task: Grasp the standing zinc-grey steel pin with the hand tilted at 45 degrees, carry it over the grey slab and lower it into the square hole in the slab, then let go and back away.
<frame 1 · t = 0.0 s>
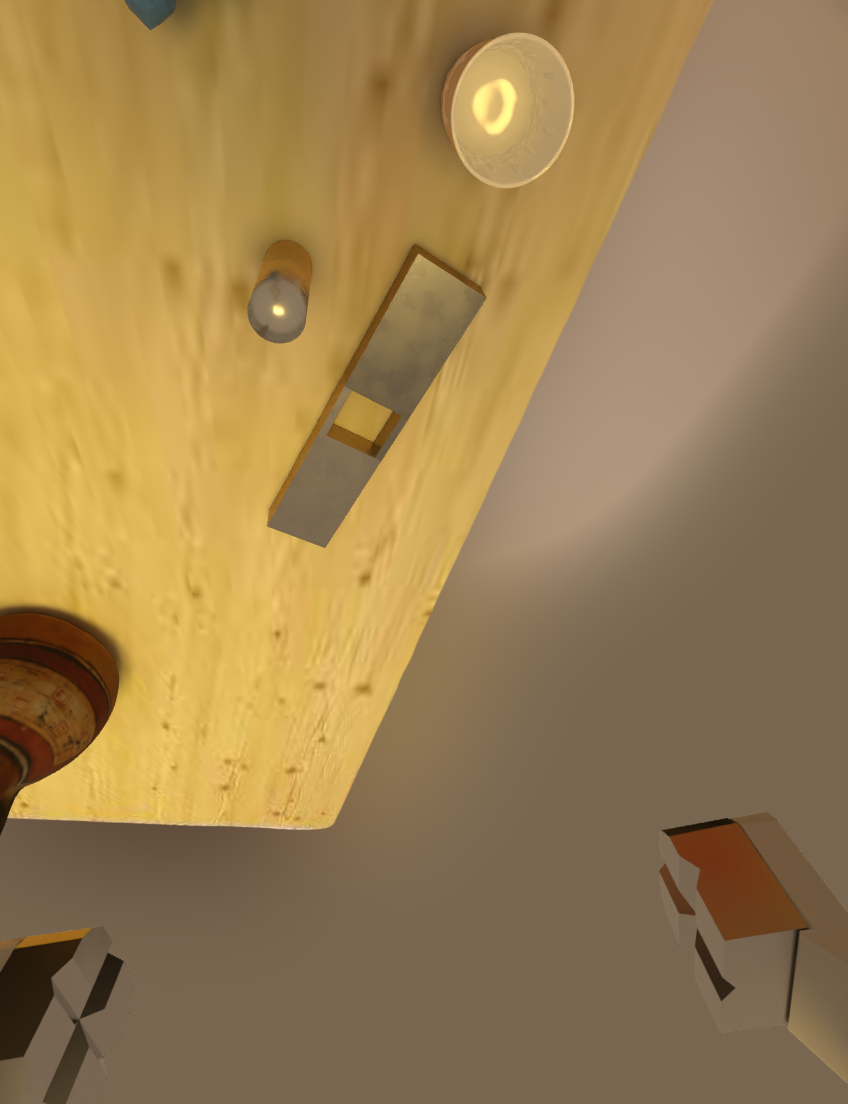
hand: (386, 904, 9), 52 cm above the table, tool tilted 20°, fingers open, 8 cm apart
white cup: (483, 102, 45), on the table
grey slab: (362, 411, 60), on the table
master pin: (288, 265, 51), on the table
ceramic pitcher: (49, 650, 78), on the table
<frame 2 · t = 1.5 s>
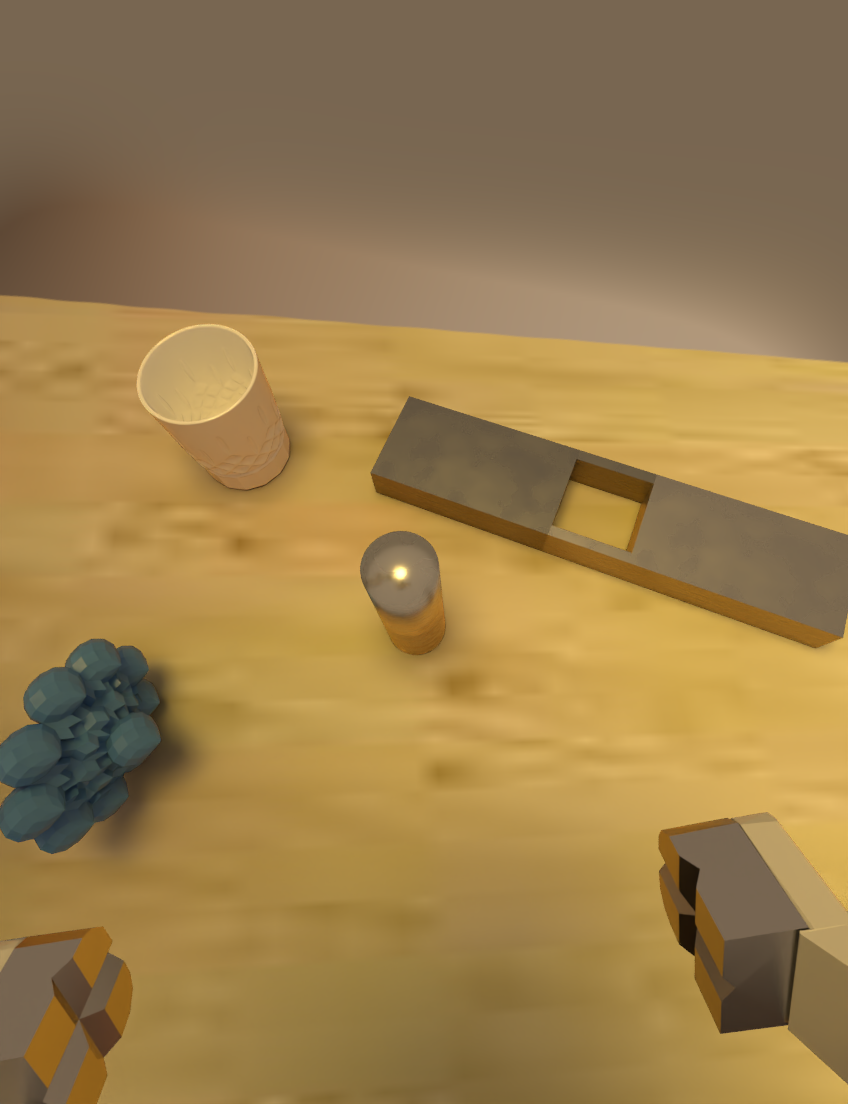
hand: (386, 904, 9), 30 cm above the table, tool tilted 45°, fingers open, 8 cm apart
white cup: (250, 454, 47), on the table
grey slab: (594, 522, 43), on the table
grapes: (155, 745, 39), on the table
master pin: (416, 626, 41), on the table
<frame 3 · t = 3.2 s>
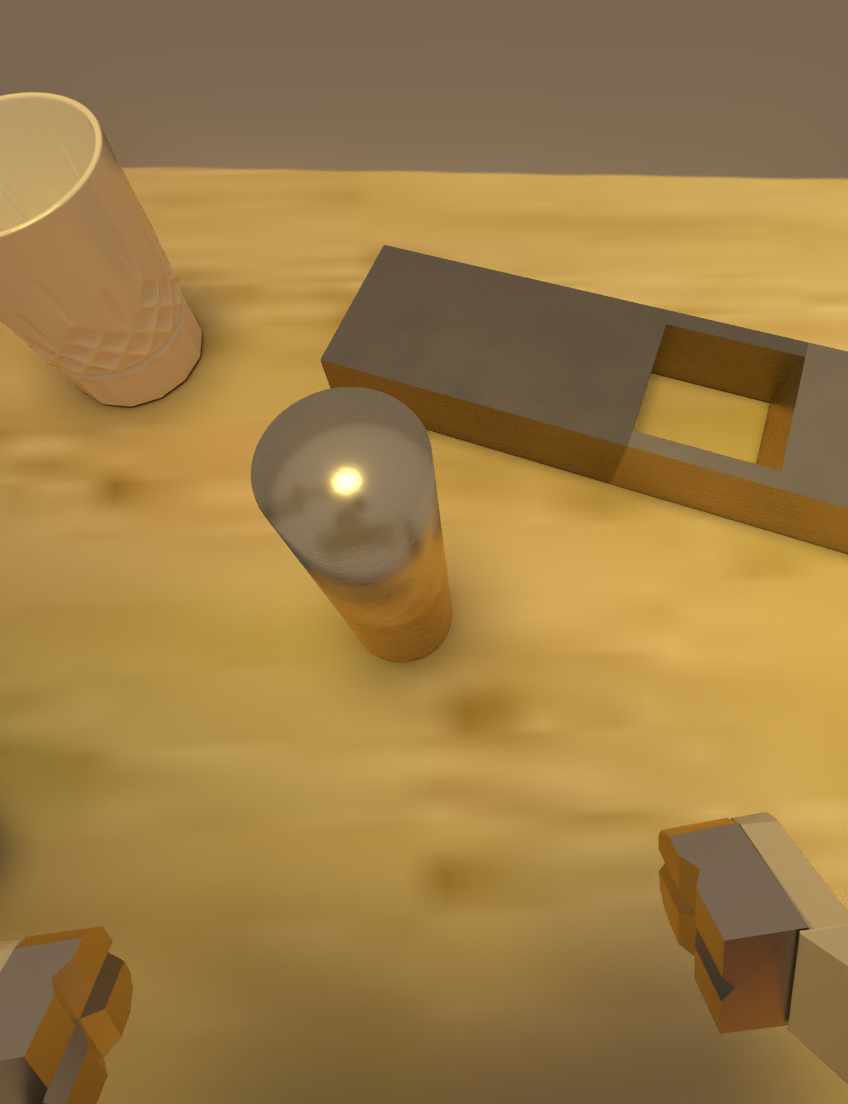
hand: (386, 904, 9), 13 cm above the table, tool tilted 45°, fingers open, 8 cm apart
white cup: (142, 356, 30), on the table
grey slab: (693, 435, 26), on the table
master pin: (402, 613, 24), on the table
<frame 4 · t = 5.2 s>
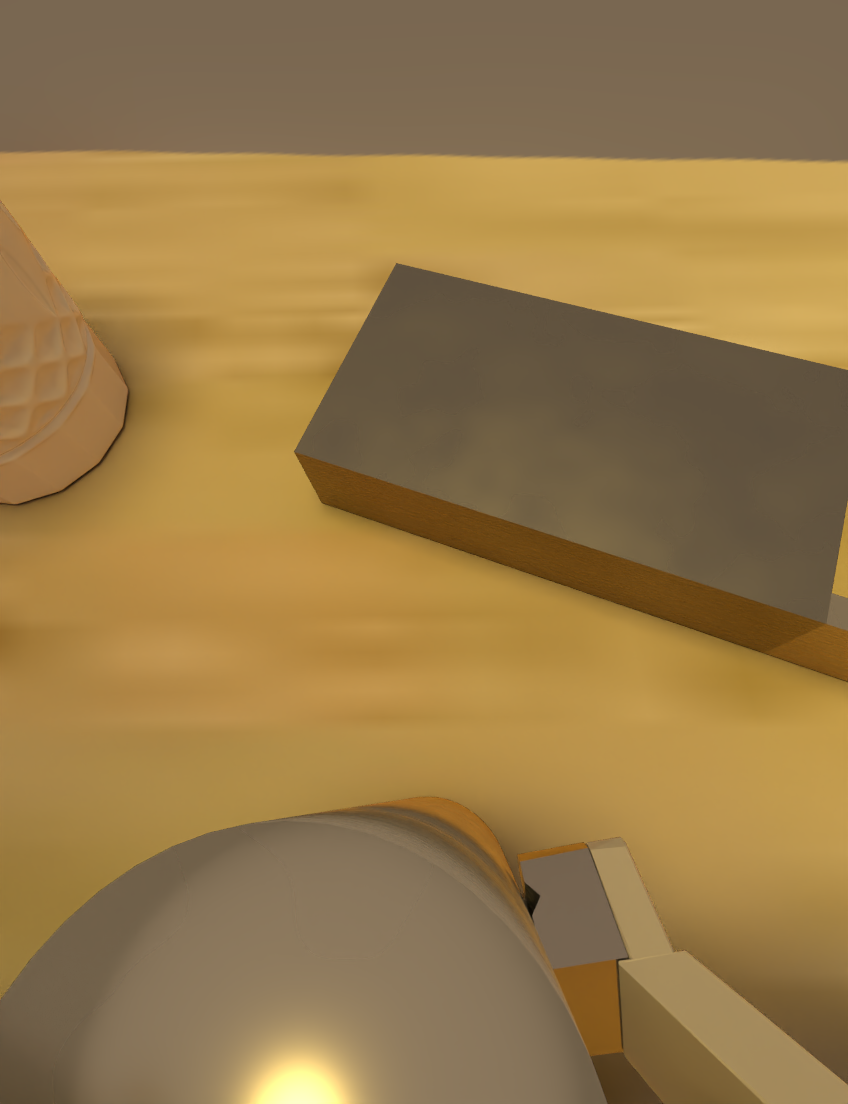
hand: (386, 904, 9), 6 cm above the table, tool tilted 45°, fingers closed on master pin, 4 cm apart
white cup: (40, 423, 21), on the table
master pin: (427, 885, 14), on the table, touching gripper
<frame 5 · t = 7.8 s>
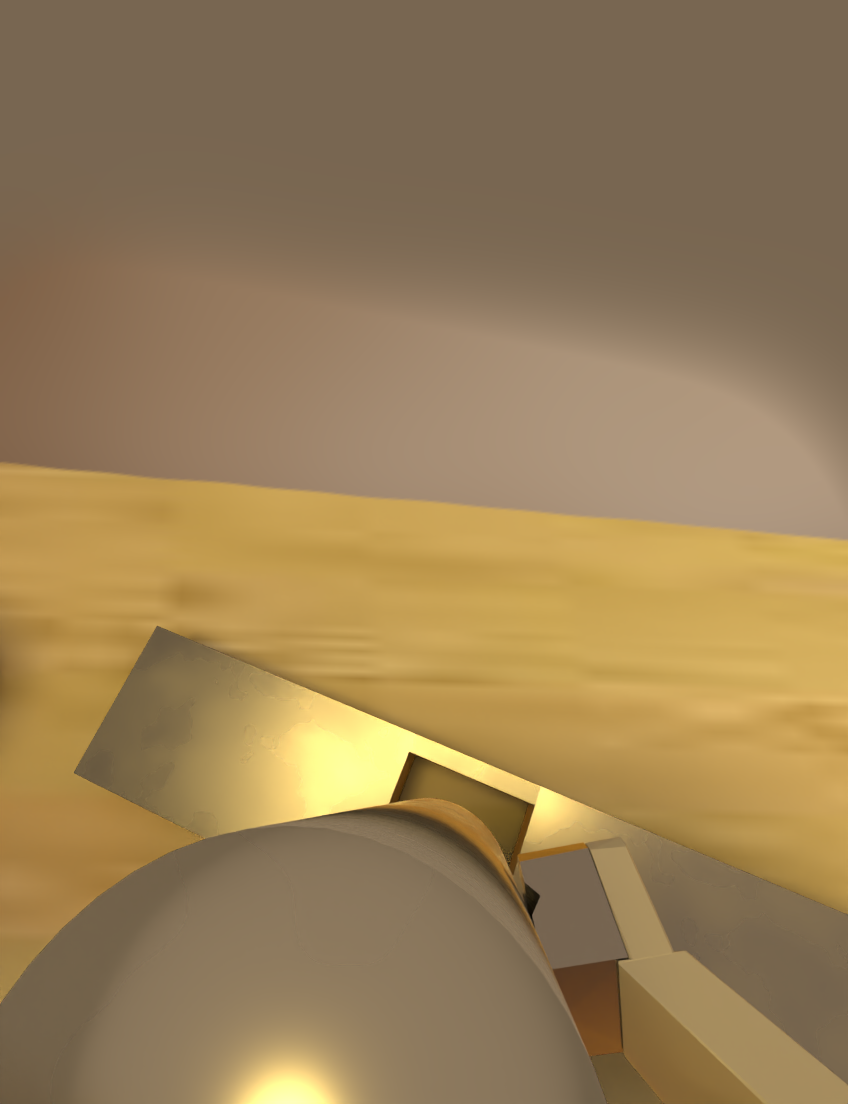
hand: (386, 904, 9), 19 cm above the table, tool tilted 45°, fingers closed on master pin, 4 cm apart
grey slab: (449, 840, 26), on the table
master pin: (427, 887, 14), point 13 cm above the table, touching gripper
when the fingers open (7 cm above the table, at t = 10.8 s): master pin stays where it is, resting in grey slab.
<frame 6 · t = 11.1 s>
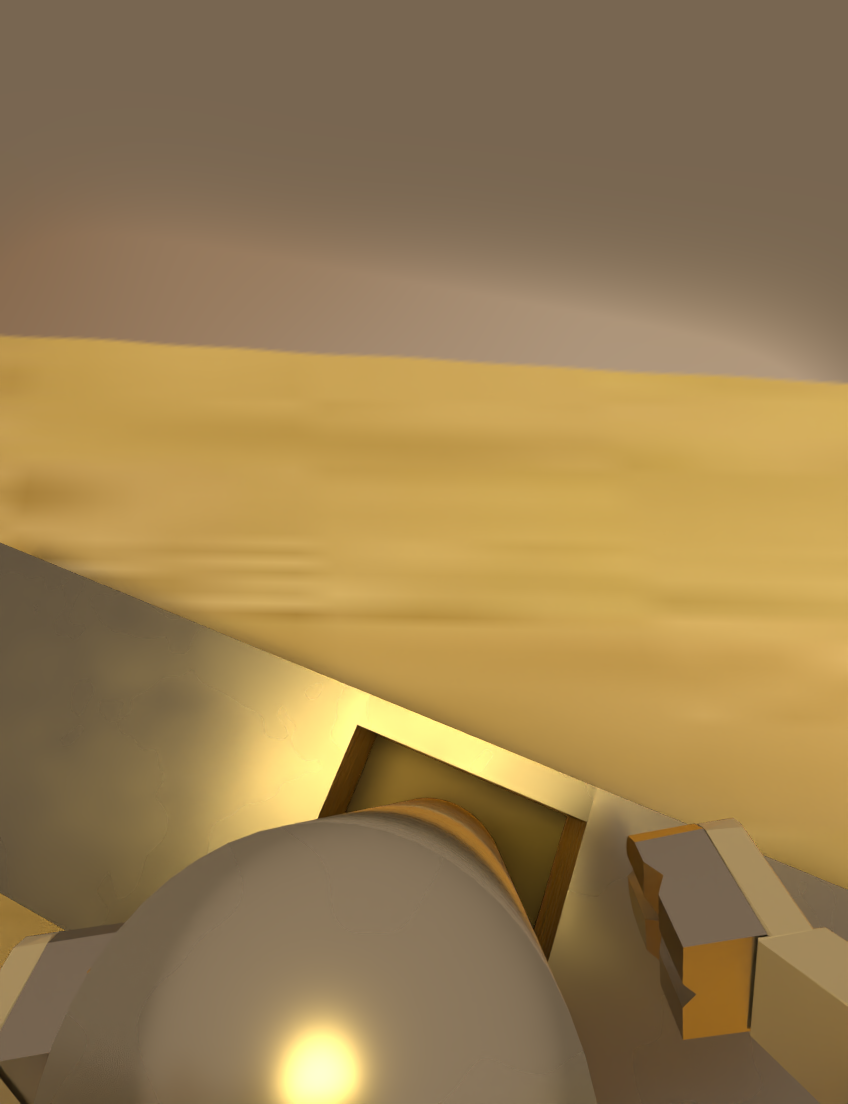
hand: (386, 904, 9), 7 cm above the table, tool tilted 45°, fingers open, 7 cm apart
grey slab: (431, 879, 15), on the table
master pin: (427, 882, 15), resting in grey slab
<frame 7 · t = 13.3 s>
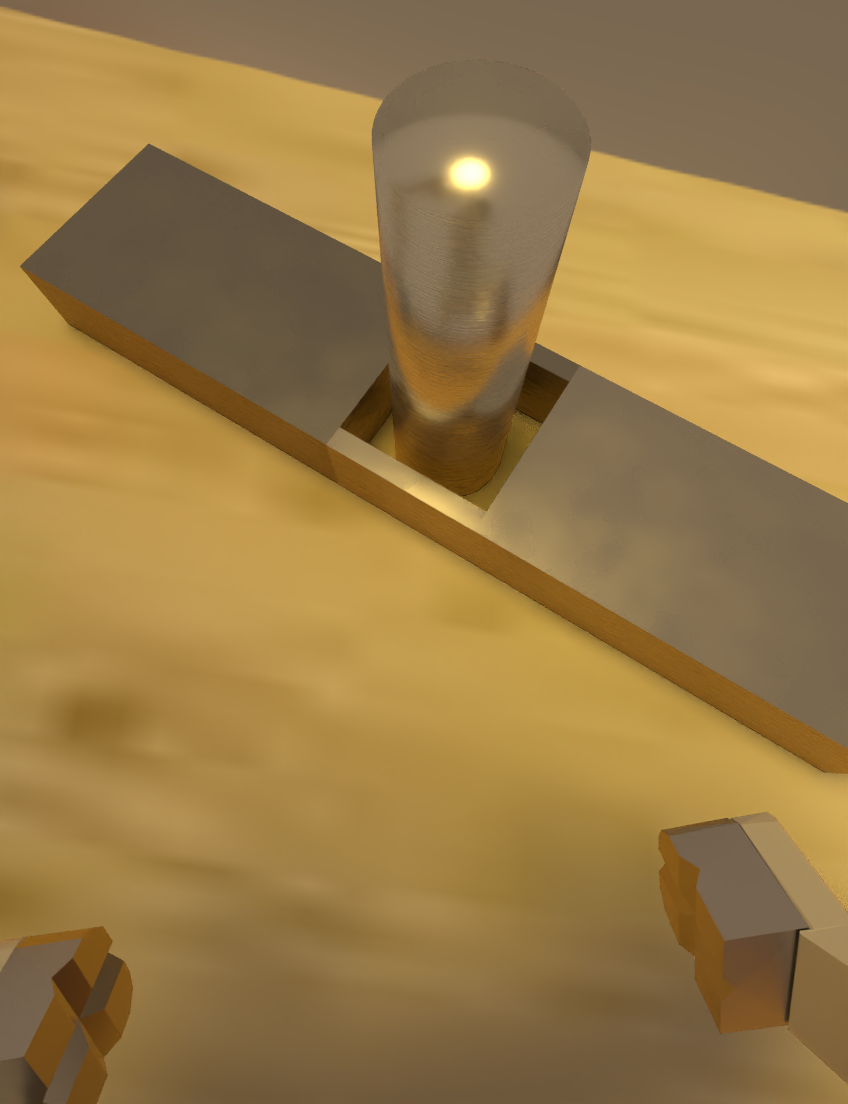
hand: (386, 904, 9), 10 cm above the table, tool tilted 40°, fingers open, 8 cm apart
grey slab: (451, 447, 22), on the table
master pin: (448, 448, 22), resting in grey slab
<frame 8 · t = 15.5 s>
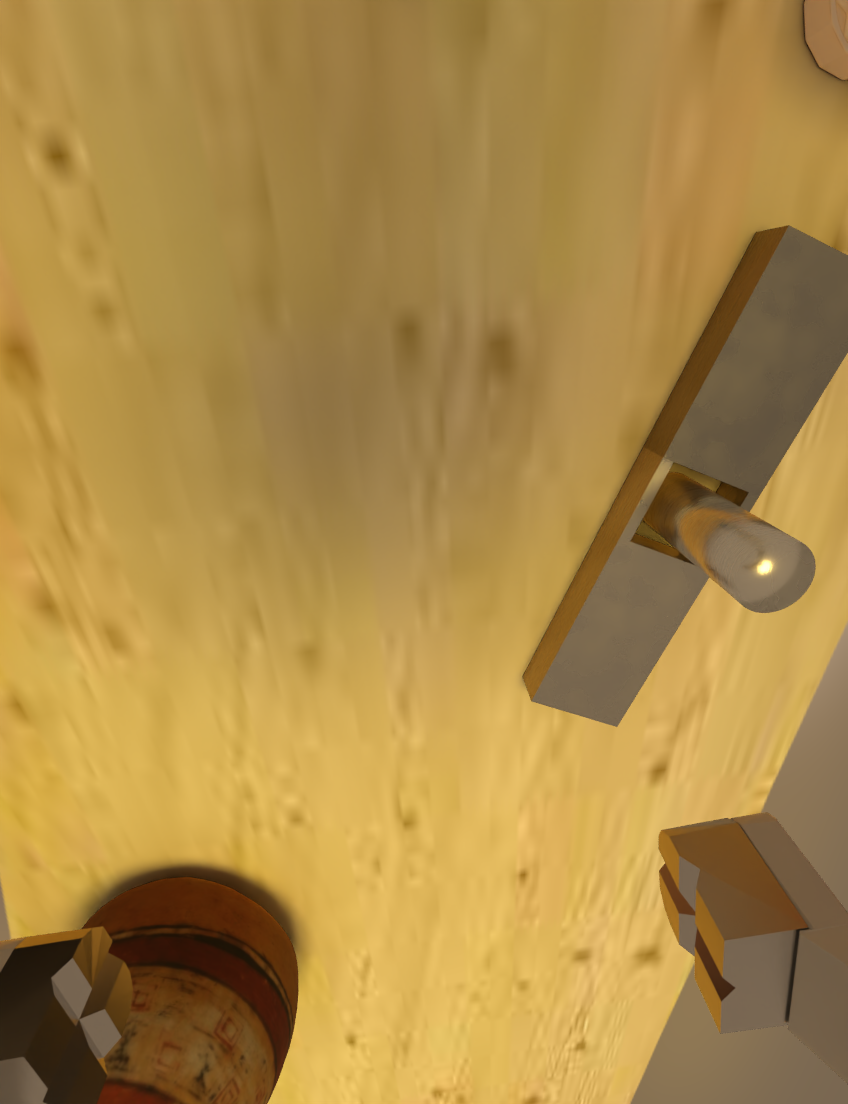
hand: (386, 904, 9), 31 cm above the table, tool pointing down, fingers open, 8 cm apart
grey slab: (668, 502, 40), on the table
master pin: (667, 501, 40), resting in grey slab
ceramic pitcher: (198, 931, 54), on the table
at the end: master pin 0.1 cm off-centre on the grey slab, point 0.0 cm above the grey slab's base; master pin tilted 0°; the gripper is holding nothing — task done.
